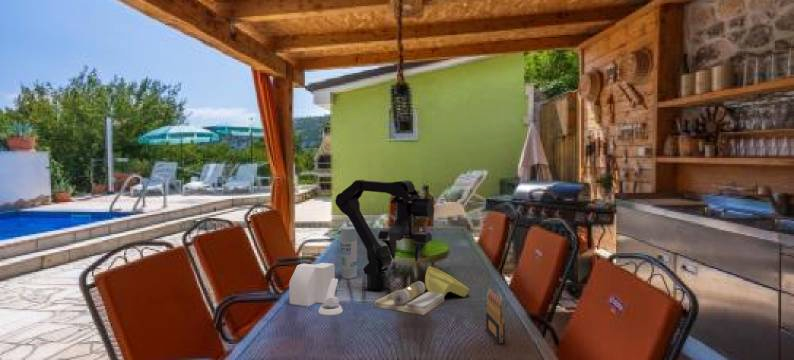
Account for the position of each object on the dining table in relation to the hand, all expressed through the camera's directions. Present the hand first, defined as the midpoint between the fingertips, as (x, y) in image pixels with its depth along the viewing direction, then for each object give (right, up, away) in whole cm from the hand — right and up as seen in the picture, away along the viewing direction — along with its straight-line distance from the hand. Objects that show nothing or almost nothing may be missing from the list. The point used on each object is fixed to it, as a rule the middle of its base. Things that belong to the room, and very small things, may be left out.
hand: (404, 260), depth 175 cm
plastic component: (+15, -12, +3) cm, 19 cm away
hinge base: (+1, -13, -11) cm, 17 cm away
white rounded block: (-32, -13, -7) cm, 35 cm away
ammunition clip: (+24, -14, -41) cm, 49 cm away
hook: (-24, -14, -18) cm, 33 cm away
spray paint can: (-22, -11, +24) cm, 35 cm away
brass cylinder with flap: (-1, -11, -10) cm, 15 cm away
